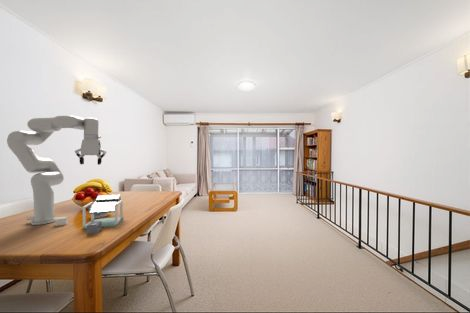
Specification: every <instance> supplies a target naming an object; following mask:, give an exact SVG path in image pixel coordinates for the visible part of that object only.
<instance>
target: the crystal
mask: <svg viewBox="0 0 470 313" xmlns="http://www.w3.org/2000/svg"><path fill="white" fill-rule="evenodd" d="M98 196H99V195H97V196H96V198H95V199H94V201H93V202H96V199H97V197H98ZM90 209H91V205H90V206H88V211H89V210H90ZM107 216H109V213H97V214H94V219H101V218H106V217H107Z"/></svg>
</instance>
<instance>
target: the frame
mask: <svg viewBox="0 0 470 313" xmlns="http://www.w3.org/2000/svg"><path fill="white" fill-rule="evenodd" d="M123 202H124V201H123V199H121V200H120V201H119V202H118V203H117V204H115V212H114V217H103V218H94V214H90V221H89V222H87V209H86V208H89V206H90V205H91V207H92V205H93V204H94V201H91V202H88V203H87V204H85V205H83V206H82V208H81V209H82V227H81V230H84V229H85V230H87V225H88V224H89V223H90V222H96V221H101V228H109V227H118V225H119V224H120V223H121V222H122V220H123V219H124V206H123V204H124V203H123ZM118 206H119V207H120V208H119V207H118ZM118 208H119V210H120V215H118V214H119V213H118V212H119V210H118ZM119 216H120V217H119Z"/></svg>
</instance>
